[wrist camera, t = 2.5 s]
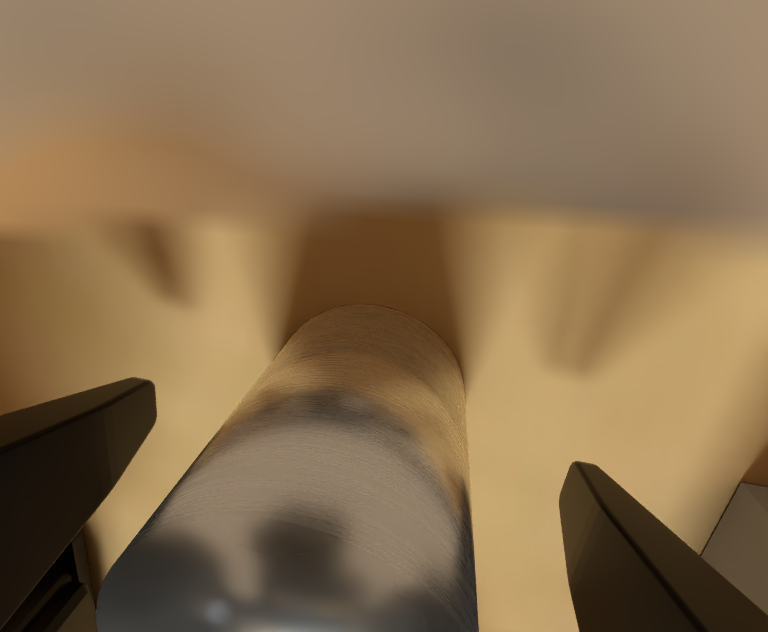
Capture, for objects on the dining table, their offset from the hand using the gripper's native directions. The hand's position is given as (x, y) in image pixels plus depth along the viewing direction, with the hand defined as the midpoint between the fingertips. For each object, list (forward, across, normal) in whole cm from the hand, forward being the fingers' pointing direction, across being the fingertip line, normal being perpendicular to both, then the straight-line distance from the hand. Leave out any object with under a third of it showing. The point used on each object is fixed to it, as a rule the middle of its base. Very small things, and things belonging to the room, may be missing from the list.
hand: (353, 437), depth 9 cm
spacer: (+2, 0, 0) cm, 2 cm away
